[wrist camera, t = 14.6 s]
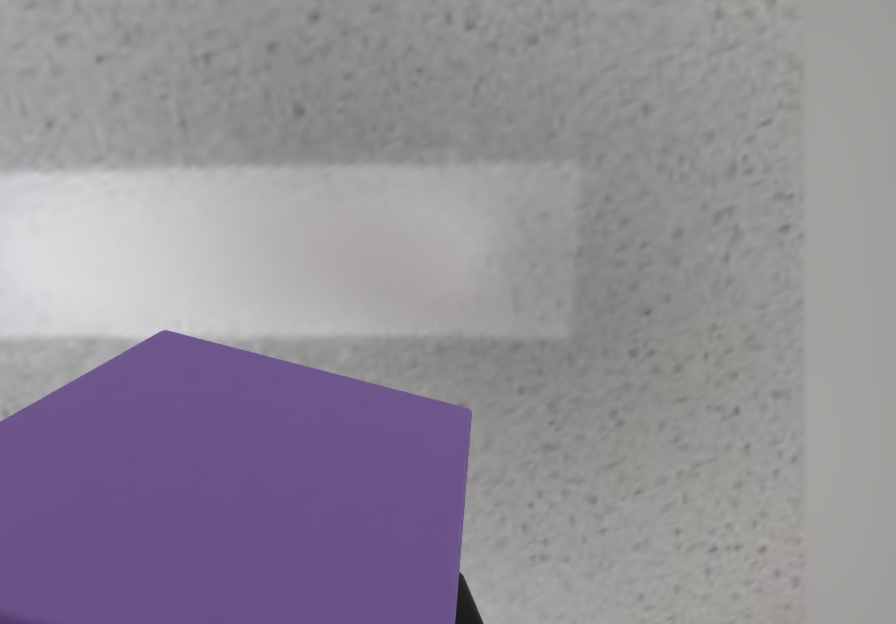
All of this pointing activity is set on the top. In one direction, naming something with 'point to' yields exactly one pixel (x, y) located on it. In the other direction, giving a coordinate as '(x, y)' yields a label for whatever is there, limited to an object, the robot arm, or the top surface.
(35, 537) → the block
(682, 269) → the top surface
